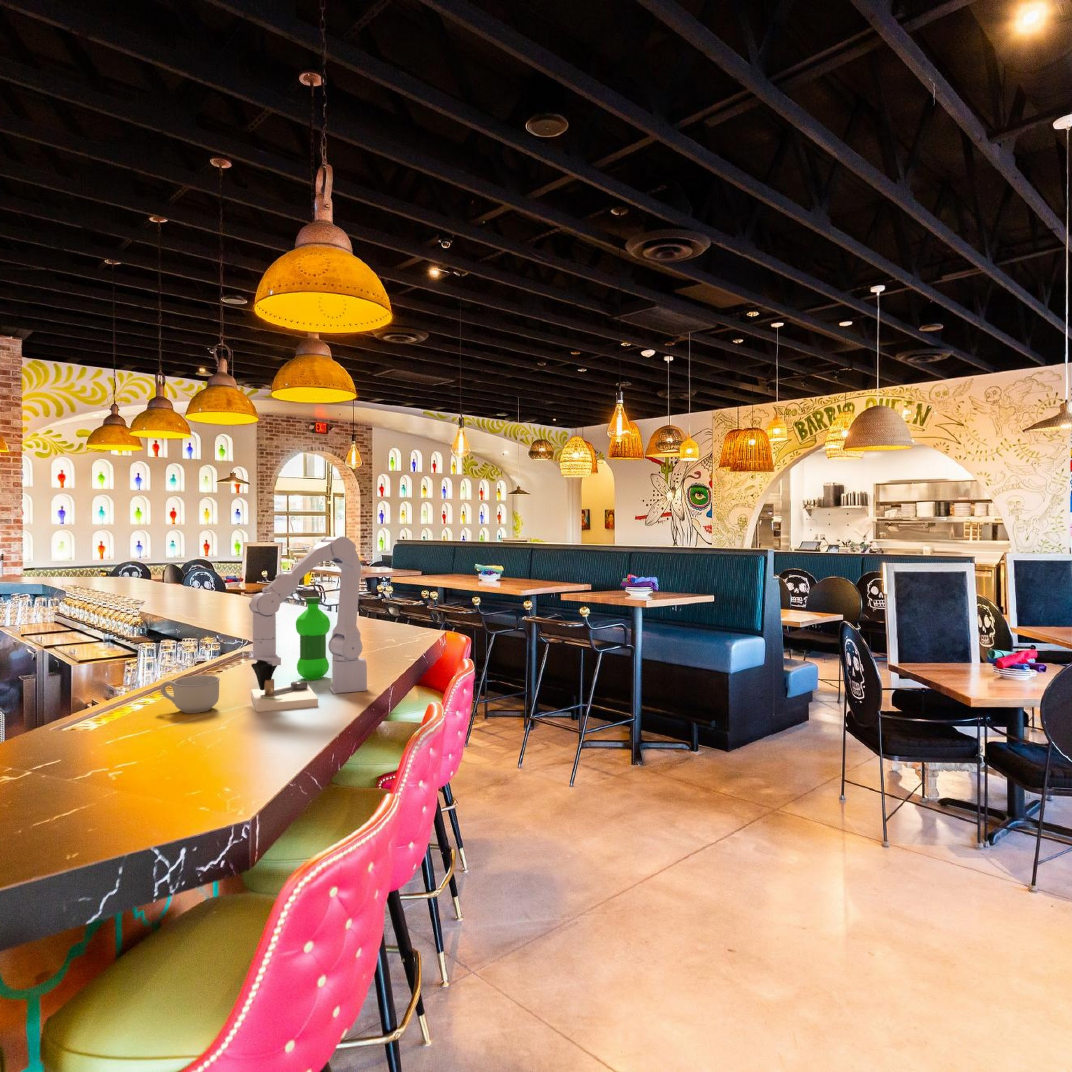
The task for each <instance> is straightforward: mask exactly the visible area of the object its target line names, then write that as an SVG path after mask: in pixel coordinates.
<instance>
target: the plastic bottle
mask: <svg viewBox="0 0 1072 1072" xmlns="http://www.w3.org/2000/svg"><path fill="white" fill-rule="evenodd" d="M305 604H306V605H307V608H306V609H305V610H304V611H303V612H302V613H301V614H300V615H299V616H298V617H297V619H296V620H295V630H296V633H297V634H298V635H299V658H298V661H297V663H296V670H297V672H298V674H299V676H301V677H302V678H303V679H304V680H305V681H306V680H307V681H313V680H320V679H322V677H324V676H325V675H326V674H327V673H328V671H329V668H330V663H329V659H328V658H327V653H326V652H327V645H326V644H327V637H326V636H327V634H328V633H329V631H330V628H331V621H330V619H329V616H328V615H327V614H326V613H324V611H322V610H321V609H320V608H319V604H321V597H319V596H312V597H311V596H310V597H309V596H307V597H305Z"/></svg>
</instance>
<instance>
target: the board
mask: <svg viewBox="0 0 1072 1072" xmlns="http://www.w3.org/2000/svg"><path fill="white" fill-rule="evenodd" d="M286 687H291V685H290V686H279V687H278V686H277V687H274V690H278V689H282V688H286ZM250 693H251V700H252V702H253V705H254V709H255V712H256V713H262V712H270V711H271V712H272V711H280V710H282V711H283V710H294V709H302V708H313V707H315V708H316V707H318V706H319V698H318V697H317V695H316V694H315V692H314V691H313V690H312V688H311V686H310V685H309V684H308V688H306V689H302V690H291V691H287V692H283V693H278V694H274V695H272V696H262V697H261V695H265V690H260V688H256V689H255V688H253V689H251V692H250Z"/></svg>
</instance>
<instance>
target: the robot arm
mask: <svg viewBox="0 0 1072 1072" xmlns="http://www.w3.org/2000/svg"><path fill="white" fill-rule="evenodd" d="M356 549H357V545H356V544H355V543H354V542H353V541H352V540H351V539H350V538H349V537H347V536H325V537H323V538H322V539H321V540H320V541H319V542H317V543H316V544H315V545H314V546H313V547H312V548H311V549H310V551H309V552H307V554H305V556H304V557H303V558H302V559H301V560H300V561H299V562H298V563H297V564H296V565H295V566H294V567H293V568H292V569H291V570H290V571H289V572H286V571H285V572H281V573H277V574H276V575H275V576H274V578H275V579H274V580H273V581H272V582H270V583H269V584H268V585H267V586H266V587H265V586H264V587H263V588H261V591H262V592H258V593H256V594H254V595H253V596H252V598H251V601H250V602H249V604H248V607H249V609H250V611H251V612H252V651H248V660H254V661H256V662H255V663H251V665H250V666H251V667H252V670H253V671H254V673H255V676H256V679H257V683H258V689H260V690H265V680H266V679H273V675H274V672H275V671H276V669H277V667H278V666H282V657H280V656H279V655H278V654H277V642H276V641H277V636H276V635H277V633H276V631H277V629H276V626H277V624H276V621H277V620H276V619H277V618H276V617H277V615H276V613H278V611H279V610H280V606H281V604H282V603H283V602H284V601H285V600H286V599H288V597H290V595H292V594H293V593H294V592H295V591H296V590H297V589H298V587H299V581H300V580H301V579H302V578H304V576H306V575H307V574H308V573H309V572H311V571H312V570H313V569H314V568H315V567H316V566H317V565H319V564H320V563H323V562H327V561H330V562H333V563H334V565H336V566H337V567H338V568H339V569H340V582H339V583H340V585H339V595H338V607H337V608H338V609H337V621H336V625H335V627H334V628H333V630H332V632H331V633H332V635H331V637H330V639H329V641H328V644H327V645H328V651H329V652H330V653H331V654H332V658H331V659H332V660H331V661H332V665H331V666H332V669H331V672H332V675H331V676H332V680H331V681H332V686H329V687H328V688H329V690H330V691H331V692H332V693H333V694H341V693H343V694H344V693H351V692H352V693H353V692H363V691H364V692H366V691H368V670H367V669H368V666H367V661H366V658H365V657H362V658H361V657H360V656H361V654H362V652H363V649H364V647H363V642H362V640H361V632H360V629H359V628H358V627H357V622H358V621H357V620H358V610H359V609H358V606H359V598H360V597H359V594H360V583H361V571H362V570H361V569H362V563H361V560H360V557H359V555H358V553H357V550H356Z"/></svg>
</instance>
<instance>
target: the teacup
mask: <svg viewBox="0 0 1072 1072" xmlns="http://www.w3.org/2000/svg"><path fill="white" fill-rule="evenodd" d="M220 679H221V678H220V677H218V676H216V675H209V674H207V675H206V674H197V675H189V676H185V677H180V678H177V679H175V680H166V681H164V682H162V684H161V685H160V693H161V695H162V696H163V697H164V698H166V699H167V700H170V701H171V702H172V704H174V705H175V707H176V708H177V709H178V710H180V711H181V712H183V713H184V714H198V713H199V714H201V713H204V712H207V711H210V710H212V708H214V706H216V704H217V703H218V702H219V699H220V698H219V697H220ZM166 686H171V688H172V691H173V695H171V694H170V693H168V692H167V690H166ZM200 712H201V713H200Z"/></svg>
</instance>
